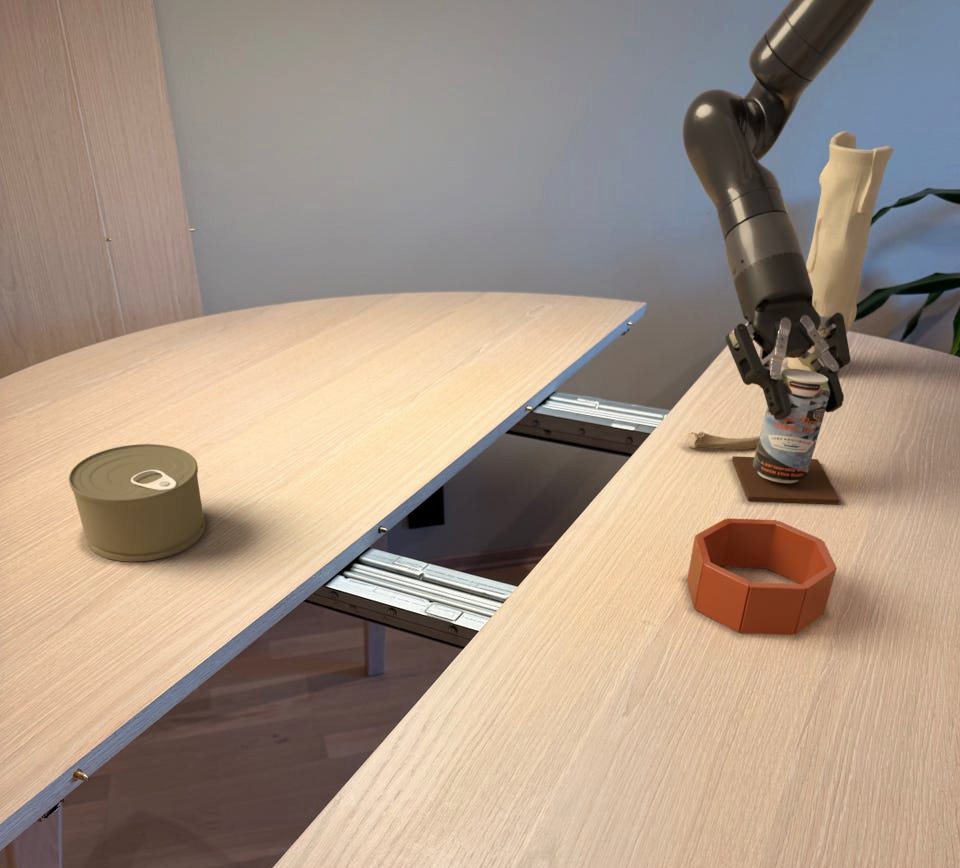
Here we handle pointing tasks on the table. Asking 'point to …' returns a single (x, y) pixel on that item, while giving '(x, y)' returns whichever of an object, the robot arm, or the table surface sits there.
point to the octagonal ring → (754, 601)
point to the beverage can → (793, 428)
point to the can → (138, 501)
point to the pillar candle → (843, 228)
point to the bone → (719, 441)
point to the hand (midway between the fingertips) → (809, 412)
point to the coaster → (785, 485)
